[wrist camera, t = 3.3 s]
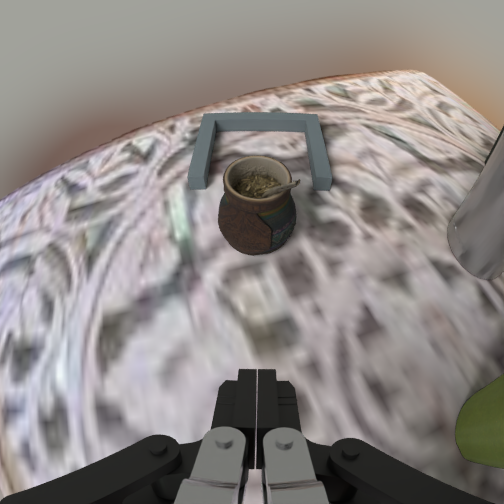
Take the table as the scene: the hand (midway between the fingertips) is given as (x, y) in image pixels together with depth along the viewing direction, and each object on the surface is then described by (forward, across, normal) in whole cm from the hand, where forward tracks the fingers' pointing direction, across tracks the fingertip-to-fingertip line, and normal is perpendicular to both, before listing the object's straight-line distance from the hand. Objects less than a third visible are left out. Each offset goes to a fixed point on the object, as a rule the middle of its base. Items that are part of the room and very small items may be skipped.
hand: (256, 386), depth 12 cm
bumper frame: (+29, 0, -12) cm, 31 cm away
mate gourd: (+20, 0, -3) cm, 21 cm away
